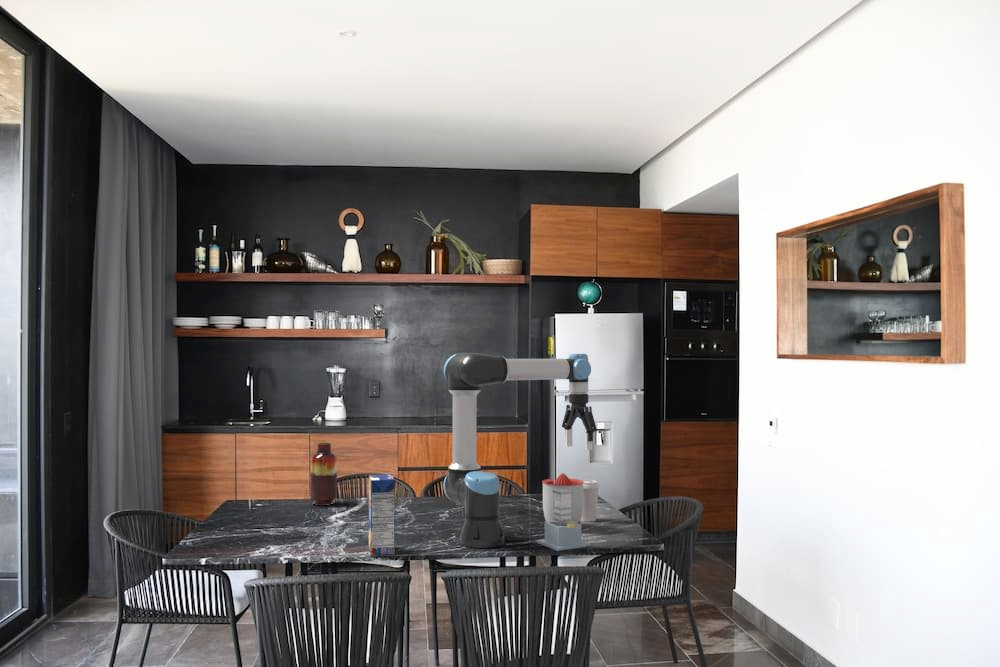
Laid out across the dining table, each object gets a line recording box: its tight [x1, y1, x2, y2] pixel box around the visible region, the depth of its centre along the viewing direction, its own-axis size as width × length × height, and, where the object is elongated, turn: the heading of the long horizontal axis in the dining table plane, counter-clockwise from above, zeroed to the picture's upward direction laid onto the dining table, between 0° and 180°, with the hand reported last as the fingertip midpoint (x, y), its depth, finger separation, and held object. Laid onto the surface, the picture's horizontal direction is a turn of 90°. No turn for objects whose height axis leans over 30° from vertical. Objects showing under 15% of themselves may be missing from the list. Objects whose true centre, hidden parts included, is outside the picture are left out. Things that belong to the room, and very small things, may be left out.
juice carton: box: [368, 473, 396, 557], centre depth 252 cm, size 12×8×24 cm, turn 13°
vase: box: [310, 441, 338, 505], centre depth 332 cm, size 11×11×26 cm
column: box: [552, 489, 574, 527], centre depth 261 cm, size 5×5×18 cm
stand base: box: [536, 521, 591, 552], centre depth 261 cm, size 13×13×8 cm
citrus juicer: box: [541, 472, 584, 524], centre depth 288 cm, size 16×17×20 cm
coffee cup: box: [581, 479, 601, 523], centre depth 300 cm, size 10×10×15 cm
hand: (578, 448), depth 299 cm, fingers open, 13 cm apart
